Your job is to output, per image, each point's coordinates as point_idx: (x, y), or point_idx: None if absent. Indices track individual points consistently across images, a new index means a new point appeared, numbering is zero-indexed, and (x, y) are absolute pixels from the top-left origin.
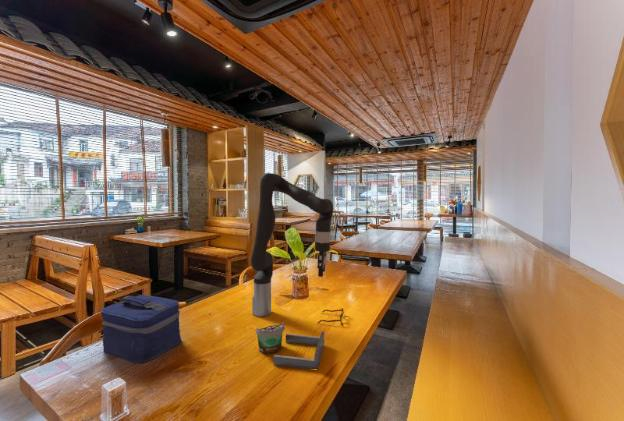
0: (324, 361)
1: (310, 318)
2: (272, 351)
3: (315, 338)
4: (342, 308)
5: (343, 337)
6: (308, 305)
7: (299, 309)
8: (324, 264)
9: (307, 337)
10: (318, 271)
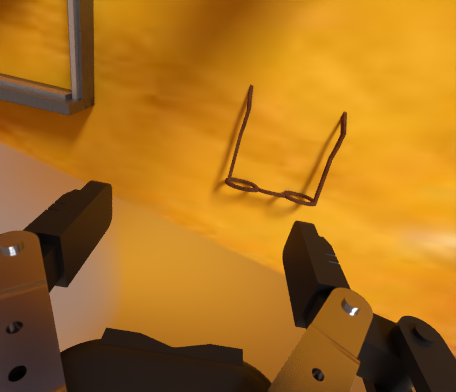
0: None
1: (302, 62)
2: None
3: (73, 75)
4: (308, 205)
5: (152, 171)
6: (451, 57)
7: (417, 3)
8: (298, 320)
9: (71, 40)
10: (62, 210)
